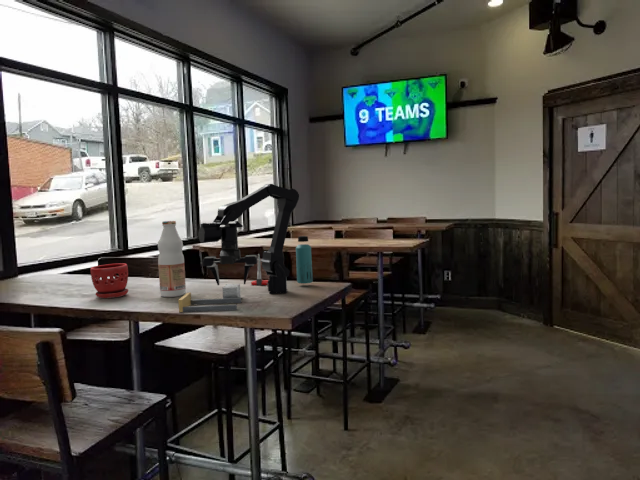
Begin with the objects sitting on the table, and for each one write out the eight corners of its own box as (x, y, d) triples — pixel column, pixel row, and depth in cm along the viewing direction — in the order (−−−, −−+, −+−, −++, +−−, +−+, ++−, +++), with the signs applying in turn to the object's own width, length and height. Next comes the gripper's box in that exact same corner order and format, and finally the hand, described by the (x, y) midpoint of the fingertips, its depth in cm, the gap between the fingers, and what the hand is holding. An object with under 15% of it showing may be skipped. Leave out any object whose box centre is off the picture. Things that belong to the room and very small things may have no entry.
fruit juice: (157, 297, 185) (152, 222, 183) (164, 293, 195) (159, 221, 193) (182, 296, 186) (178, 221, 183) (188, 292, 195) (184, 220, 193)
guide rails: (241, 302, 172) (240, 290, 172) (236, 309, 160) (235, 297, 160) (187, 304, 172) (187, 292, 172) (179, 312, 159) (178, 299, 159)
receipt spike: (255, 282, 215) (248, 285, 206) (254, 252, 215) (248, 254, 206) (274, 282, 214) (268, 285, 205) (273, 252, 214) (268, 254, 205)
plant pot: (112, 292, 200) (110, 262, 199) (137, 294, 194) (135, 263, 193) (84, 298, 189) (82, 267, 188) (109, 300, 183) (107, 268, 182)
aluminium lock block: (240, 297, 182) (239, 283, 181) (237, 301, 175) (236, 287, 174) (226, 297, 182) (226, 284, 181) (223, 301, 175) (222, 287, 174)
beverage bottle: (307, 287, 196) (305, 236, 195) (293, 286, 200) (291, 236, 198) (316, 285, 202) (314, 235, 200) (302, 284, 205) (300, 235, 204)
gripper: (197, 243, 168) (200, 289, 169) (253, 241, 169) (255, 287, 170) (204, 241, 179) (206, 284, 181) (256, 239, 180) (258, 282, 181)
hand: (231, 284), depth 178 cm, fingers open, 9 cm apart
